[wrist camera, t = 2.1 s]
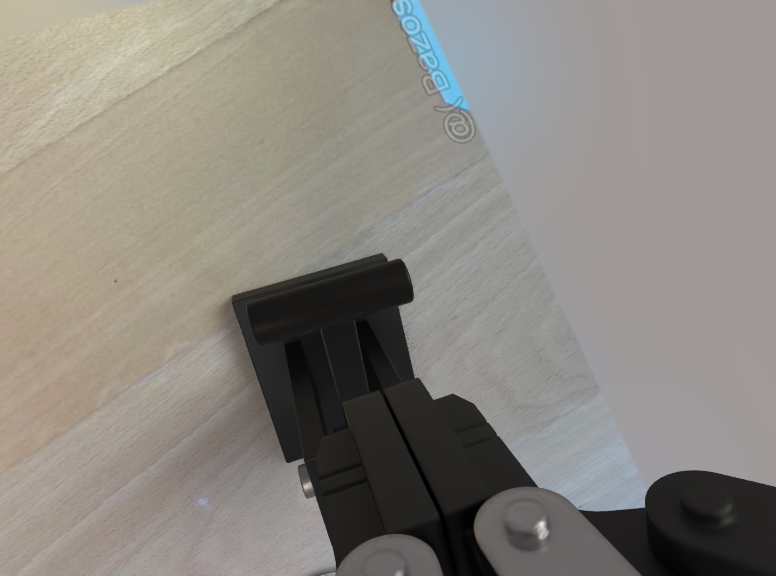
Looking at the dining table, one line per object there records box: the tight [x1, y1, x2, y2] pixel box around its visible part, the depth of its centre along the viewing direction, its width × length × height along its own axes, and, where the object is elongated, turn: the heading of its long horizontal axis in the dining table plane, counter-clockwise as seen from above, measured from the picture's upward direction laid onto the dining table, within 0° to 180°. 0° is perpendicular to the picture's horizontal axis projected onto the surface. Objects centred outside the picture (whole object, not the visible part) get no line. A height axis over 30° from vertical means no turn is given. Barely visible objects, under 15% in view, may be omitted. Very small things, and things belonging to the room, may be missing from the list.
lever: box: [246, 259, 414, 433], centre depth 21 cm, size 12×5×2 cm, turn 13°
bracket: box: [232, 253, 415, 545], centre depth 29 cm, size 11×9×13 cm
